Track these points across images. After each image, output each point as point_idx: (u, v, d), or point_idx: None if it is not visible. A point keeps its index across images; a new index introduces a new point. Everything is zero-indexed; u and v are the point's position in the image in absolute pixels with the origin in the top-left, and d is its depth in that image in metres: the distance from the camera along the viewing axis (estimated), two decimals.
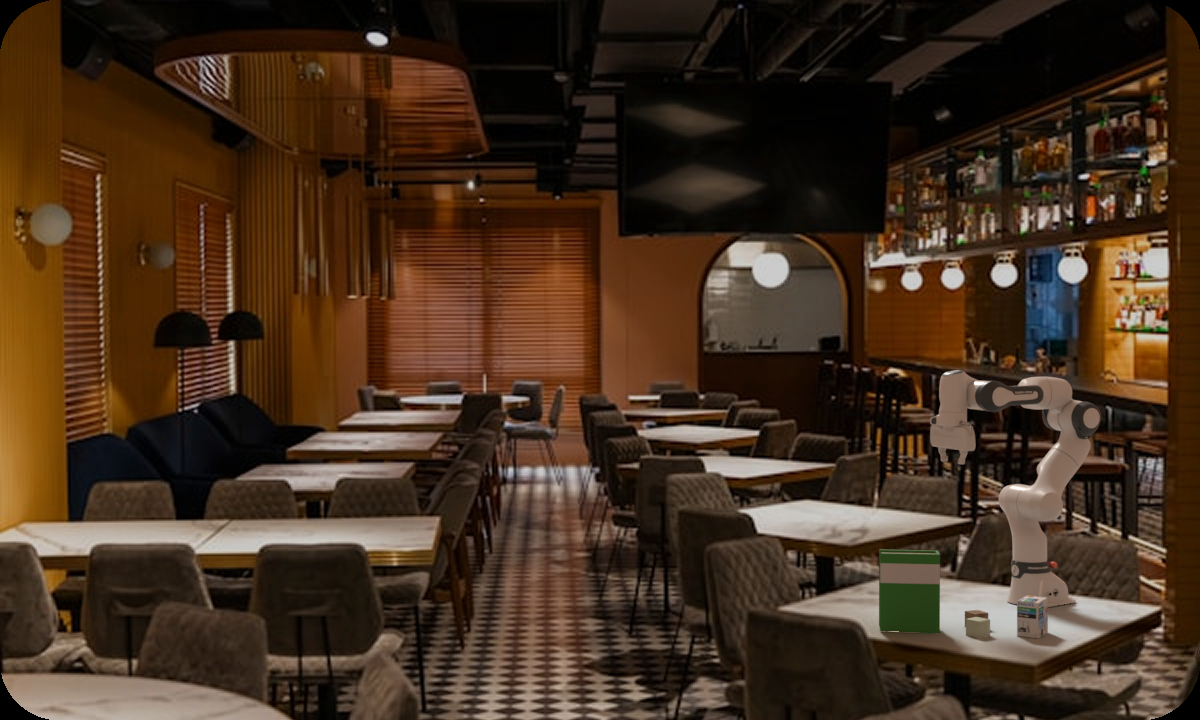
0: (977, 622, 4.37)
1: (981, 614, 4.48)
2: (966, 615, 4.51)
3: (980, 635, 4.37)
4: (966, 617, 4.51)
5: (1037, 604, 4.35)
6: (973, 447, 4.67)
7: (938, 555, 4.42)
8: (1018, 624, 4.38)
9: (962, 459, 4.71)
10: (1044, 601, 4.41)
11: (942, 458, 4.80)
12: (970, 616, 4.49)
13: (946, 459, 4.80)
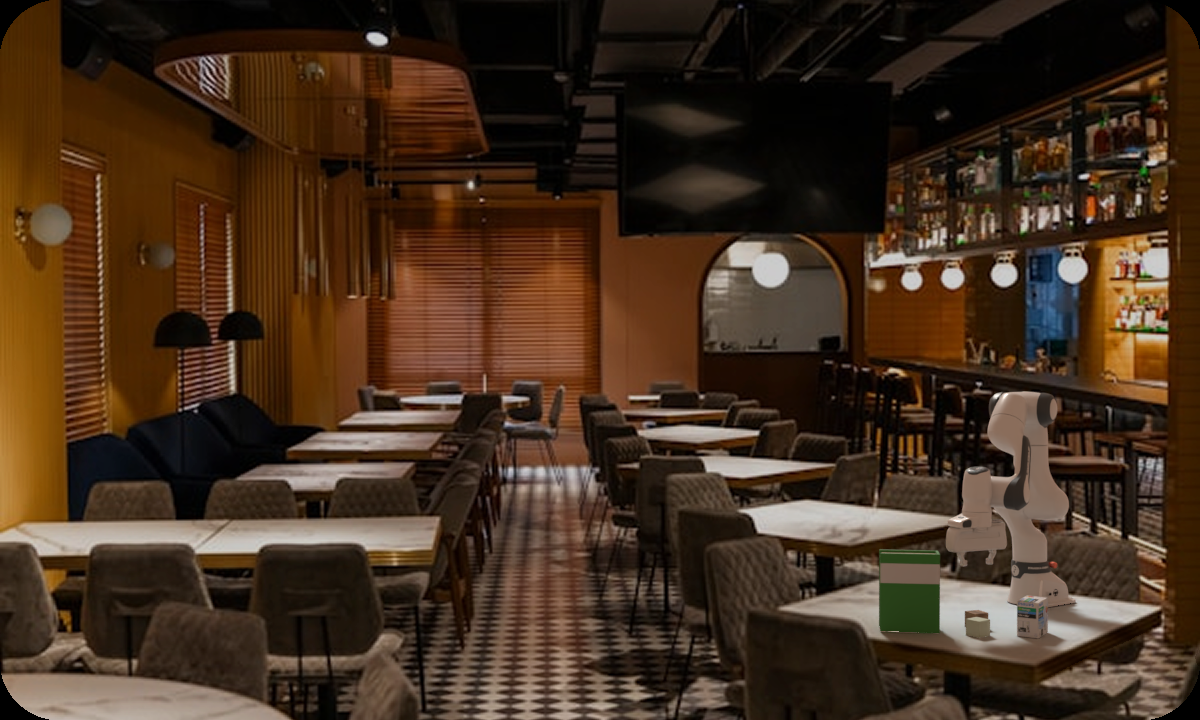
0: (977, 622, 4.37)
1: (981, 614, 4.48)
2: (966, 615, 4.51)
3: (980, 635, 4.37)
4: (966, 617, 4.51)
5: (1037, 604, 4.35)
6: None
7: (938, 555, 4.42)
8: (1018, 624, 4.38)
9: None
10: (1044, 601, 4.41)
11: (966, 563, 4.47)
12: (970, 616, 4.49)
13: None
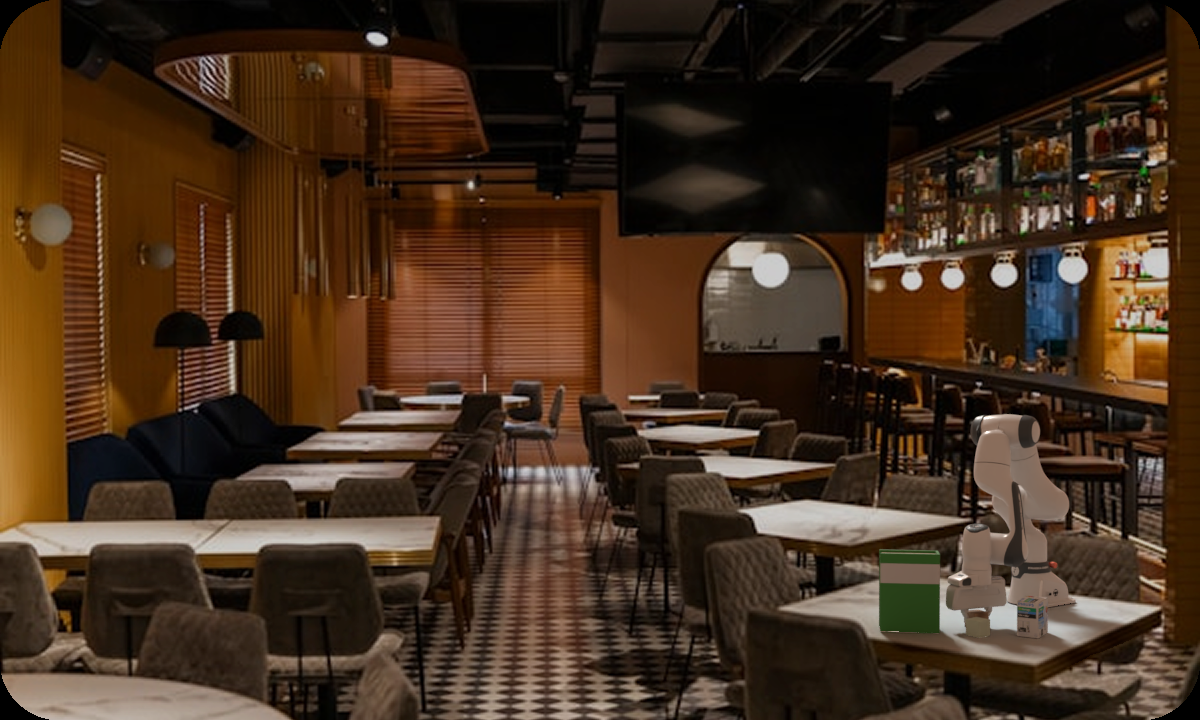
0: (977, 622, 4.37)
1: (981, 614, 4.48)
2: None
3: (980, 635, 4.37)
4: None
5: (1037, 604, 4.35)
6: None
7: (938, 555, 4.42)
8: (1018, 624, 4.38)
9: None
10: (1044, 601, 4.41)
11: None
12: (970, 616, 4.49)
13: None
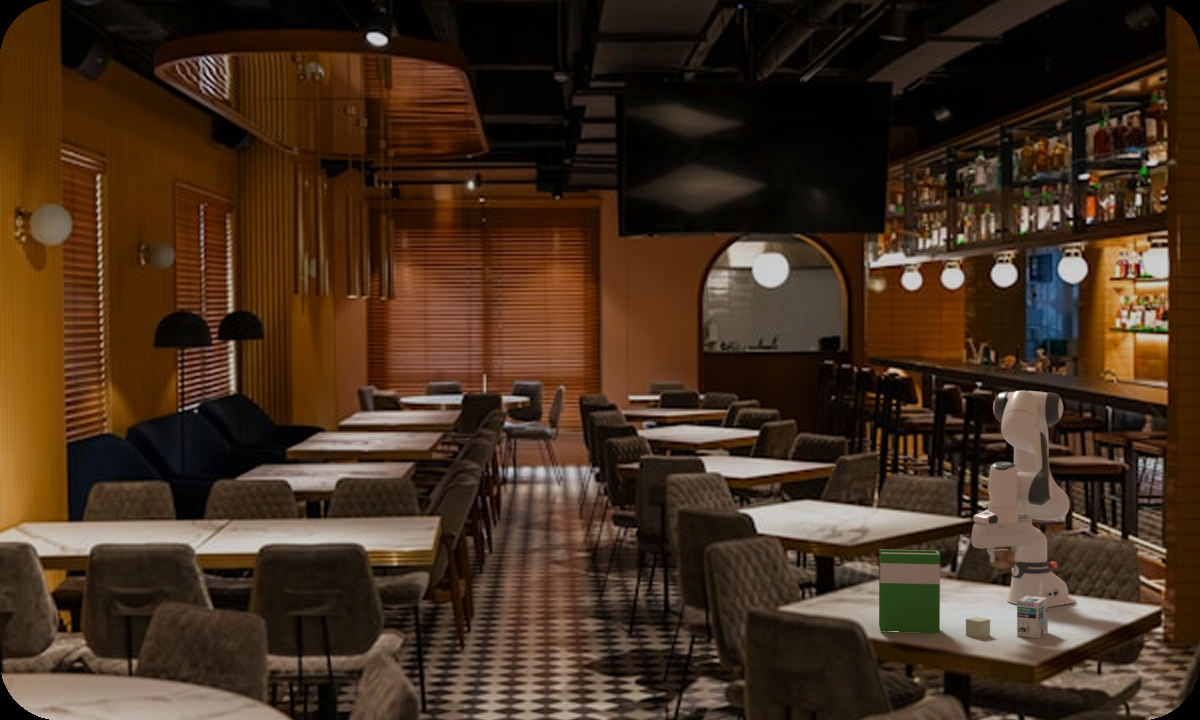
0: (977, 622, 4.37)
1: (1007, 552, 4.43)
2: None
3: (980, 635, 4.37)
4: None
5: (1037, 604, 4.35)
6: None
7: (938, 555, 4.42)
8: (1018, 624, 4.38)
9: None
10: (1044, 601, 4.41)
11: (996, 559, 4.43)
12: (996, 554, 4.44)
13: None
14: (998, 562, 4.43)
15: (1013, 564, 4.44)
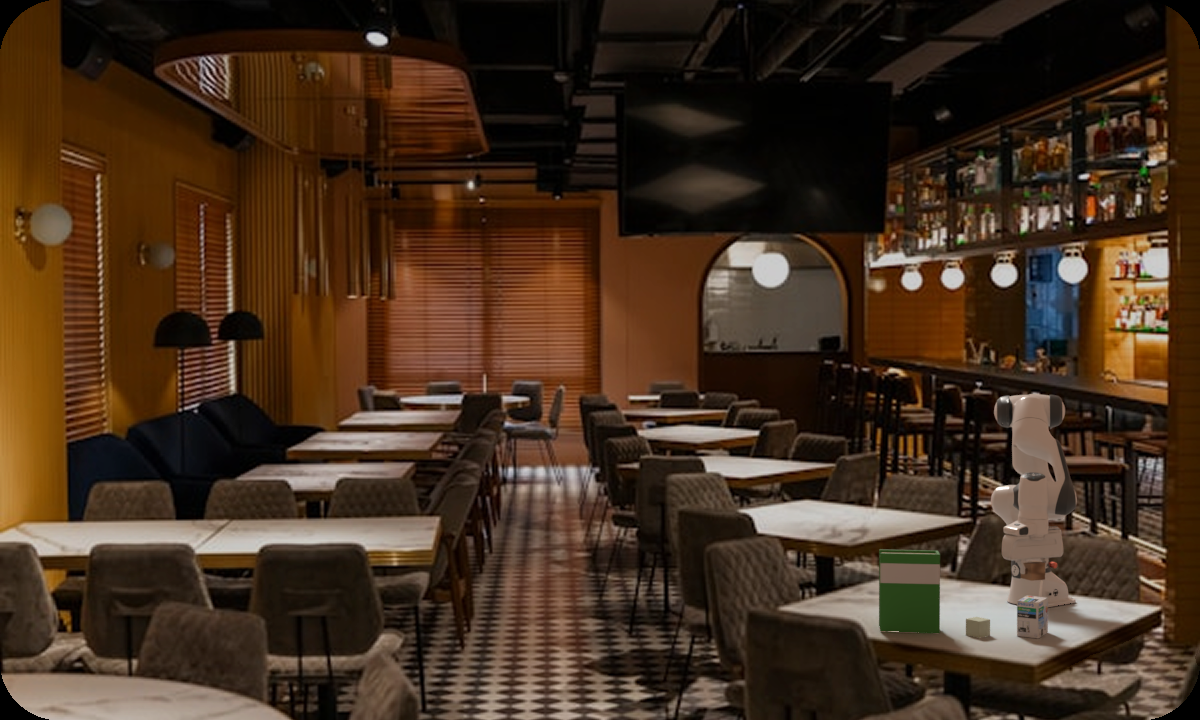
0: (977, 622, 4.37)
1: (1038, 564, 4.38)
2: None
3: (980, 635, 4.37)
4: None
5: (1037, 604, 4.35)
6: None
7: (938, 555, 4.42)
8: (1018, 624, 4.38)
9: None
10: (1044, 601, 4.41)
11: (1026, 570, 4.39)
12: (1026, 566, 4.39)
13: None
14: (1028, 574, 4.38)
15: (1043, 576, 4.39)
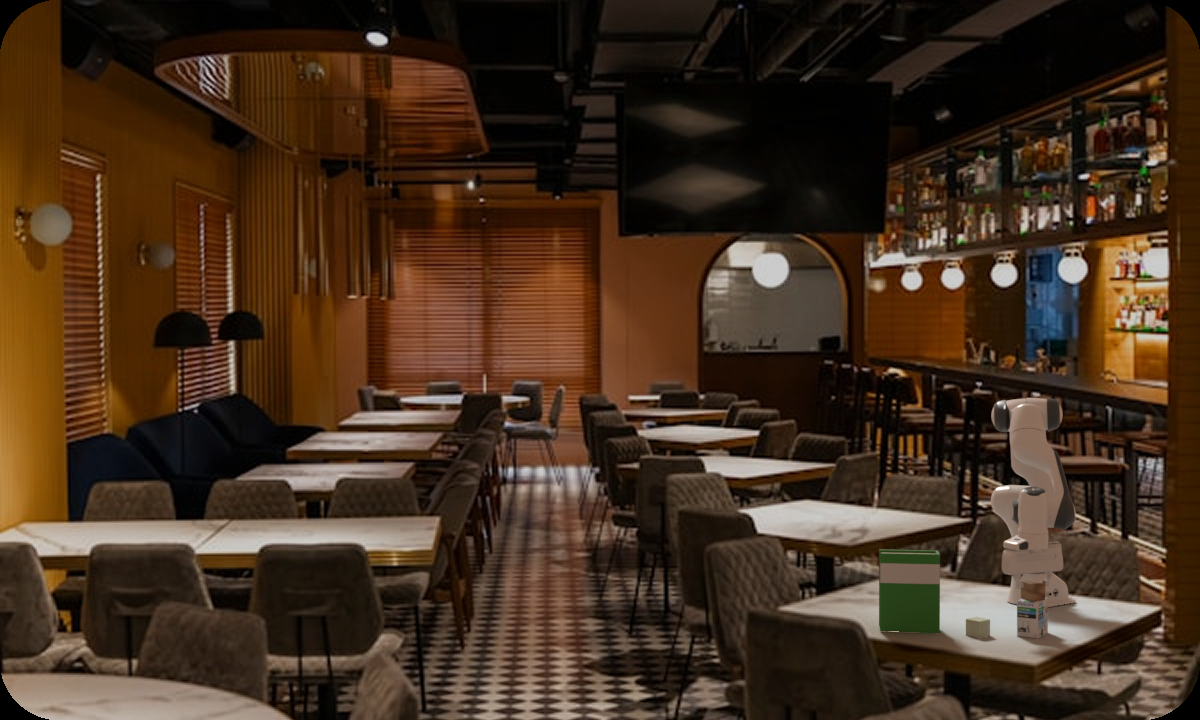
0: (977, 622, 4.37)
1: (1038, 584, 4.38)
2: None
3: (980, 635, 4.37)
4: None
5: (1037, 604, 4.35)
6: None
7: (938, 555, 4.42)
8: (1018, 624, 4.38)
9: None
10: (1044, 601, 4.40)
11: (1022, 585, 4.38)
12: (1027, 586, 4.39)
13: None
14: (1029, 594, 4.39)
15: (1044, 596, 4.39)
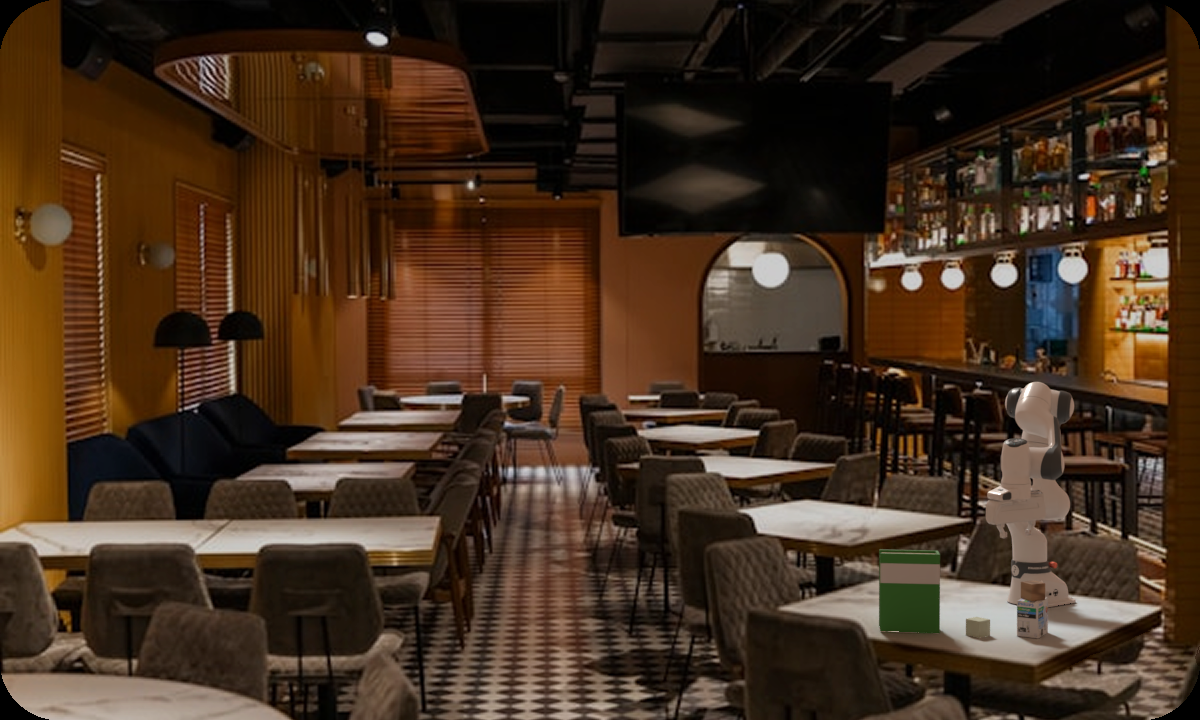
0: (977, 622, 4.37)
1: (1038, 584, 4.38)
2: (1022, 586, 4.41)
3: (980, 635, 4.37)
4: (1022, 588, 4.41)
5: (1037, 604, 4.35)
6: None
7: (938, 555, 4.42)
8: (1018, 624, 4.38)
9: None
10: (1044, 601, 4.40)
11: (1006, 534, 4.49)
12: (1027, 586, 4.39)
13: None
14: (1029, 594, 4.38)
15: (1044, 596, 4.39)
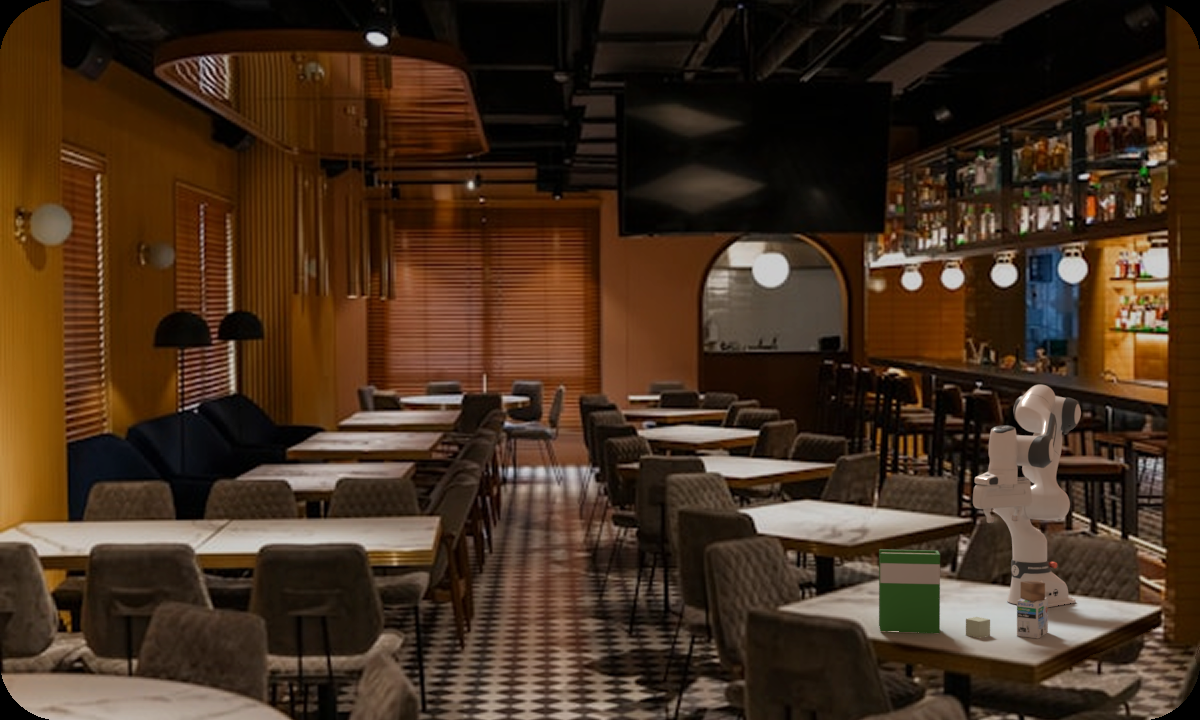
0: (977, 622, 4.37)
1: (1038, 584, 4.38)
2: (1022, 586, 4.41)
3: (980, 635, 4.37)
4: (1022, 588, 4.41)
5: (1037, 604, 4.35)
6: None
7: (938, 555, 4.42)
8: (1018, 624, 4.38)
9: None
10: (1044, 601, 4.40)
11: (992, 519, 4.58)
12: (1026, 586, 4.39)
13: None
14: (1028, 594, 4.38)
15: (1043, 596, 4.39)
